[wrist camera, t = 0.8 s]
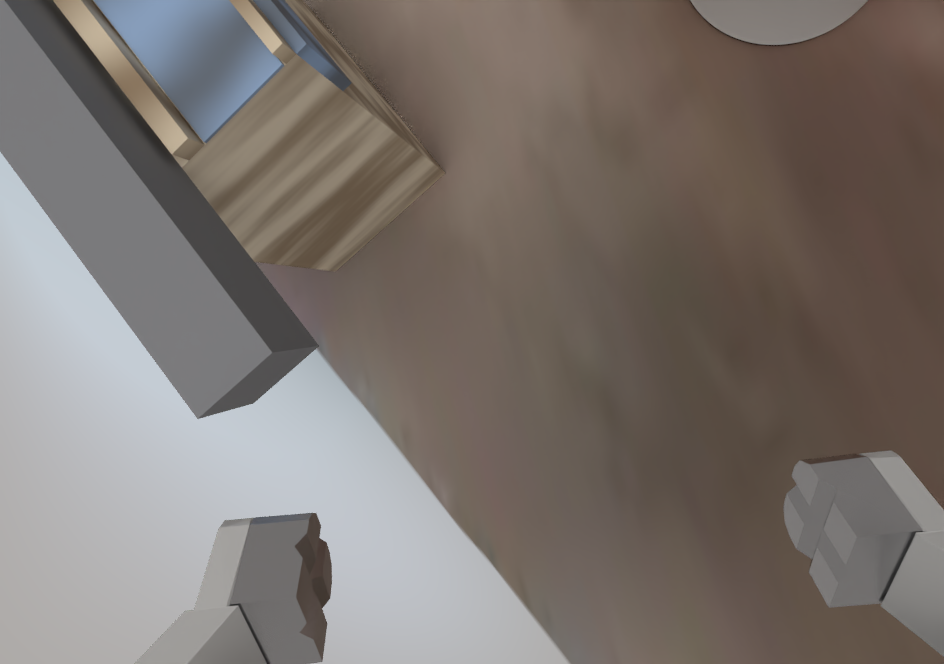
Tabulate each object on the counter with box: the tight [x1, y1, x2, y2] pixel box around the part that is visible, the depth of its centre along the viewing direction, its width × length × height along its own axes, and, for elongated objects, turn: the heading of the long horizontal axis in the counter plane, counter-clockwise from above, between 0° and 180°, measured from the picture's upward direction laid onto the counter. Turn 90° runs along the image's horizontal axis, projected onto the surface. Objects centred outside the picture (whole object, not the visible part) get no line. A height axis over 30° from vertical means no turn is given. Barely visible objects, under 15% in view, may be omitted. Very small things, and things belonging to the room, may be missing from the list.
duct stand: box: [53, 0, 445, 271], centre depth 42 cm, size 18×13×27 cm
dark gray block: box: [0, 0, 319, 419], centre depth 28 cm, size 26×4×4 cm, turn 39°
